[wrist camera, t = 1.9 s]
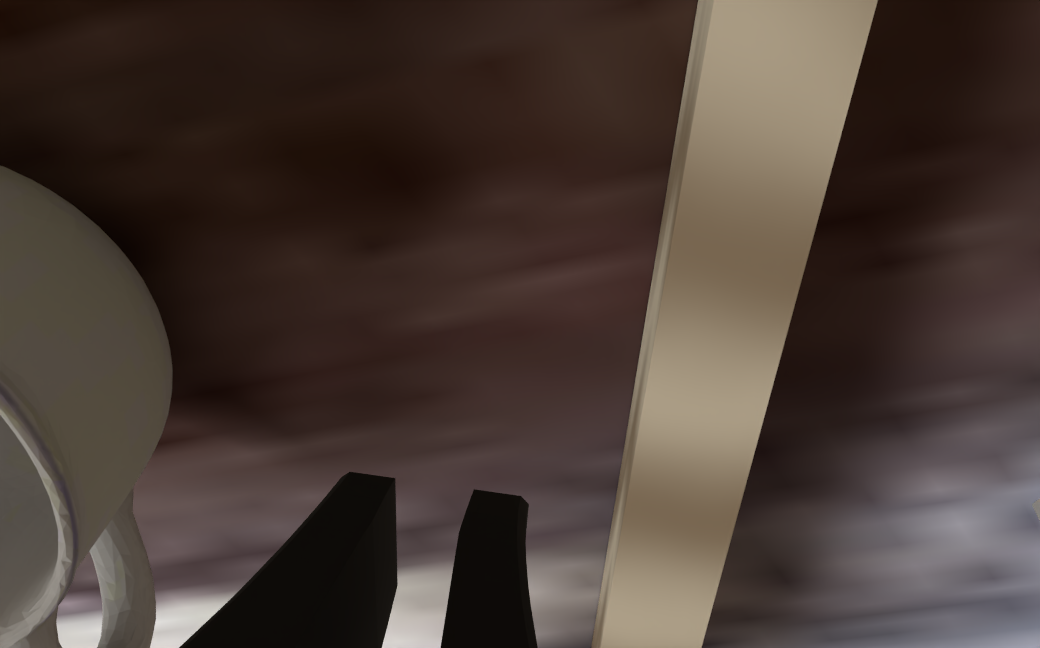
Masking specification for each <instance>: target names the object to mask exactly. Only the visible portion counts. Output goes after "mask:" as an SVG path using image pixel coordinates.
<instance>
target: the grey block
mask: <svg viewBox="0 0 1040 648" xmlns="http://www.w3.org/2000/svg"><path fill="white" fill-rule="evenodd" d="M1032 506H1033V508H1034V510H1035V512H1036V514H1037V516H1038V518H1039V520H1040V499H1038V500H1037V501H1036V502H1034V503H1033V504H1032Z"/></svg>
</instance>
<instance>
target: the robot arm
mask: <svg viewBox="0 0 1040 648" xmlns="http://www.w3.org/2000/svg"><path fill="white" fill-rule="evenodd" d="M528 506H529V504H528V503H527V502H526V501H525V500H524V499H523V498H522V497H521V496H516V495H509V494H502V493H495V492H488V491H481V490H474V491H473V494H472V496H471V499H470V502H469V505H468V507H467V510H466V513H465V516H464V519H463V522H462V525H461V528H460V531H459V536H458V542H457V548H456V555H455V561H454V567H453V573H452V580H451V586H450V592H449V599H448V605H447V611H446V618H445V624H444V630H443V636H442V643H441V648H537V642H536V636H535V629H534V623H533V617H532V611H531V605H530V597H529V589H528V578H527V565H526V545H525V540H526V528H527V517H528ZM396 589H397V542H396V494H395V478H389V477H382V476H375V475H368V474H361V473H354V472H349V473H347V474H346V475H344V476H343V477H341V479H340V480H339V481H338V482H337V484H336V485H335V486H334V487H333V488H332V490H331V491H330V492H329V493H328V494H327V496H326V497H325V498H324V499H323V500H322V501H321V503H320V504H319V505H318V506H317V507H316V509H315V510H314V511H313V512H312V513H311V514H310V515H309V517H308V518H307V519H306V520H305V521H304V522H303V523H302V525H301V526H300V527H299V528H298V529H297V530H296V531H295V532H294V533H293V535H292V536H291V537H290V538H289V539H288V540H287V541H286V542H285V543H284V544H283V546H282V547H281V548H280V549H279V550H278V551H277V552H276V553H275V554H274V555H273V556H272V557H271V558H270V559H269V560H268V561H267V562H266V563H265V564H264V566H263V567H262V568H261V569H260V570H259V571H258V572H257V573H256V574H255V575H254V576H253V577H252V578H251V579H250V580H249V581H248V582H247V583H246V584H245V585H244V586H243V587H242V588H241V589H240V590H239V591H238V592H237V593H236V594H235V595H234V596H233V597H232V598H231V599H230V600H229V601H228V602H227V603H226V604H225V605H224V606H223V607H222V608H221V609H220V610H219V611H218V612H217V613H216V614H215V615H213V616H212V617H211V618H210V619H209V620H208V621H207V622H206V623H205V624H204V625H203V626H202V627H201V628H200V629H199V630H198V631H196V632H195V633H194V634H193V635H192V636H191V637H190V638H189V639H188V640H187V641H186V642H185V643H184V644H183V645H182V646H180V647H179V648H382V644H383V640H384V637H385V633H386V629H387V625H388V621H389V617H390V613H391V609H392V605H393V601H394V597H395V593H396Z"/></svg>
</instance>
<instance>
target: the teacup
mask: <svg viewBox="0 0 1040 648" xmlns="http://www.w3.org/2000/svg"><path fill="white" fill-rule="evenodd" d="M172 370H173V368H172V360H171V352H170V346H169V342H168V338H167V334H166V331H165V328H164V325H163V322H162V319H161V316H160V313H159V310H158V308H157V306H156V304H155V302H154V300H153V298H152V296H151V294H150V292H149V290H148V288H147V286H146V284H145V282H144V281H143V279H142V277H141V276H140V274H139V273H138V272H137V270H136V269H135V267H134V266H133V264H132V263H131V262H130V260H129V259H128V258H127V257H126V255H125V254H124V253H123V252H122V251H121V249H120V248H119V247H118V246H117V245H116V244H115V243H114V242H113V241H112V240H111V239H110V238H109V237H108V236H107V234H106V233H105V232H104V231H103V230H102V229H101V228H100V227H99V226H98V225H96V224H95V223H94V222H93V221H92V220H90V219H89V218H88V217H87V216H86V215H84V214H83V213H82V212H81V211H80V210H78V209H77V208H76V207H75V206H73V205H72V204H71V203H69V202H68V201H66V200H64V199H63V198H61V197H60V196H58V195H57V194H55V193H54V192H52V191H51V190H49V189H47V188H46V187H44V186H42V185H40V184H39V183H37V182H35V181H33V180H32V179H30V178H27V177H25V176H23V175H21V174H19V173H17V172H15V171H12V170H10V169H8V168H6V167H3V166H0V648H62V647H61V645H60V643H59V640H58V633H57V626H56V618H57V611H58V605H59V604H60V603H61V601H62V600H63V599H64V597H65V596H66V594H67V592H68V590H69V588H70V585H71V583H72V581H73V579H74V576H75V572H76V569H77V568H78V566H79V565H80V563H81V562H82V561H83V559H84V558H85V556H86V555H87V553H88V552H89V551H90V553H91V556H92V559H93V562H94V565H95V569H96V572H97V576H98V580H99V585H100V591H101V597H102V612H103V621H102V633H101V639H100V641H99V644H98V647H97V648H150V645H151V640H152V636H153V631H154V625H155V620H156V601H155V591H154V582H153V576H152V572H151V568H150V564H149V560H148V557H147V553H146V549H145V547H144V544H143V541H142V538H141V535H140V532H139V529H138V526H137V523H136V521H135V518H134V515H133V486H134V485H135V483H136V482H137V480H138V478H139V477H140V475H141V474H142V472H143V470H144V469H145V467H146V465H147V463H148V461H149V459H150V458H151V456H152V454H153V452H154V450H155V448H156V446H157V443H158V441H159V439H160V437H161V435H162V432H163V429H164V426H165V423H166V420H167V416H168V413H169V407H170V401H171V395H172Z"/></svg>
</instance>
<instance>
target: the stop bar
mask: <svg viewBox="0 0 1040 648" xmlns="http://www.w3.org/2000/svg"><path fill="white" fill-rule="evenodd" d="M877 1H878V0H698V5H697V12H696V18H695V24H694V30H693V36H692V42H691V48H690V54H689V60H688V66H687V72H686V78H685V84H684V90H683V96H682V102H681V108H680V114H679V120H678V126H677V132H676V138H675V144H674V150H673V156H672V163H671V169H670V175H669V181H668V187H667V193H666V199H665V205H664V211H663V217H662V223H661V229H660V235H659V241H658V247H657V253H656V259H655V265H654V271H653V277H652V283H651V289H650V295H649V301H648V307H647V314H646V320H645V326H644V332H643V338H642V344H641V350H640V356H639V362H638V368H637V374H636V380H635V386H634V392H633V398H632V404H631V410H630V416H629V422H628V428H627V434H626V440H625V446H624V452H623V458H622V465H621V471H620V477H619V483H618V489H617V495H616V501H615V507H614V513H613V519H612V525H611V531H610V537H609V543H608V549H607V555H606V561H605V567H604V573H603V579H602V585H601V591H600V597H599V603H598V609H597V616H596V622H595V628H594V634H593V640H592V646H591V648H702V644H703V640H704V637H705V633H706V629H707V626H708V622H709V618H710V615H711V611H712V607H713V604H714V600H715V596H716V593H717V589H718V585H719V581H720V578H721V574H722V570H723V567H724V563H725V559H726V556H727V552H728V548H729V545H730V541H731V537H732V534H733V530H734V526H735V523H736V519H737V515H738V512H739V508H740V504H741V501H742V497H743V493H744V490H745V486H746V482H747V479H748V475H749V471H750V468H751V464H752V460H753V457H754V453H755V449H756V446H757V442H758V438H759V435H760V431H761V427H762V424H763V420H764V416H765V413H766V409H767V405H768V402H769V398H770V394H771V391H772V387H773V383H774V380H775V376H776V372H777V368H778V365H779V361H780V357H781V354H782V350H783V346H784V343H785V339H786V335H787V332H788V328H789V324H790V321H791V317H792V313H793V310H794V306H795V302H796V299H797V295H798V291H799V288H800V284H801V280H802V277H803V273H804V269H805V266H806V262H807V258H808V255H809V251H810V247H811V244H812V240H813V236H814V233H815V229H816V225H817V222H818V218H819V214H820V211H821V207H822V203H823V200H824V196H825V192H826V189H827V185H828V181H829V178H830V174H831V170H832V167H833V163H834V159H835V156H836V152H837V148H838V144H839V141H840V137H841V133H842V130H843V126H844V122H845V119H846V115H847V111H848V108H849V104H850V100H851V97H852V93H853V89H854V86H855V82H856V78H857V75H858V71H859V67H860V64H861V60H862V56H863V53H864V49H865V45H866V42H867V38H868V34H869V31H870V27H871V23H872V20H873V16H874V12H875V9H876V5H877Z"/></svg>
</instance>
